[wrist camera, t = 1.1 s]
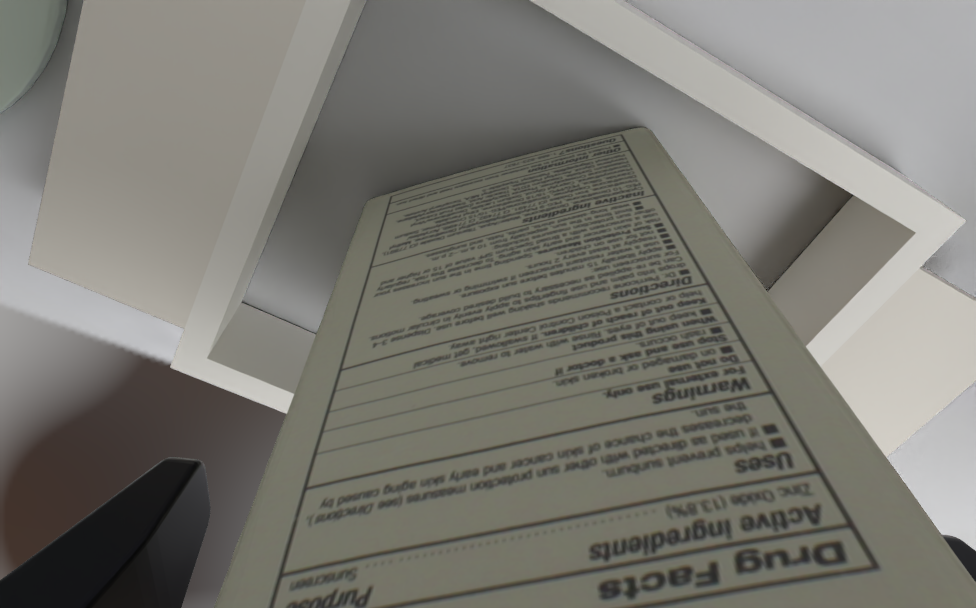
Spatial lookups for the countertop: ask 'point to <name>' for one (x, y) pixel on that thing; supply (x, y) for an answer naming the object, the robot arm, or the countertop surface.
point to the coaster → (26, 43)
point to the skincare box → (572, 417)
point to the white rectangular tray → (286, 131)
